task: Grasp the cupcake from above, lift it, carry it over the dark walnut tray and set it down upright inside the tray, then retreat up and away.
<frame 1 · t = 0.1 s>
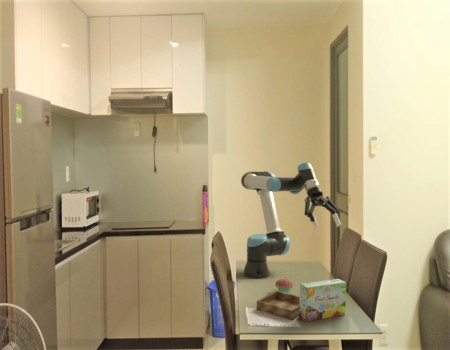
hand: (328, 226, 185), 36 cm above the table, tool tilted 35°, fingers open, 13 cm apart
cupcake: (283, 293, 193), on the table
walnut tray: (283, 308, 173), on the table
snack box: (322, 316, 165), on the table
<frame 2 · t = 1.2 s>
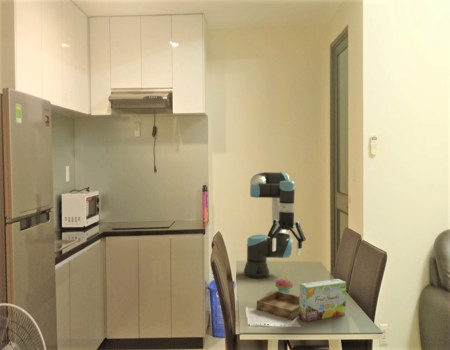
hand: (285, 252, 192), 21 cm above the table, tool pointing down, fingers open, 13 cm apart
nothing on the table moved.
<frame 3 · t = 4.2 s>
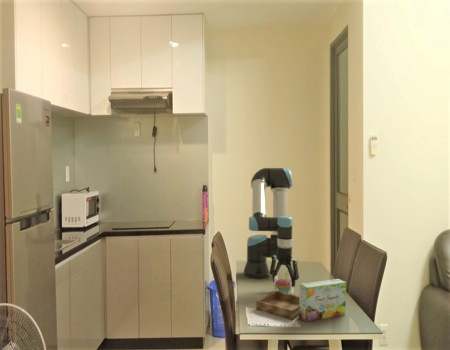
hand: (283, 290, 193), 1 cm above the table, tool pointing down, fingers closed on cupcake, 8 cm apart
cupcake: (283, 293, 193), on the table, touching gripper
everything else where it was.
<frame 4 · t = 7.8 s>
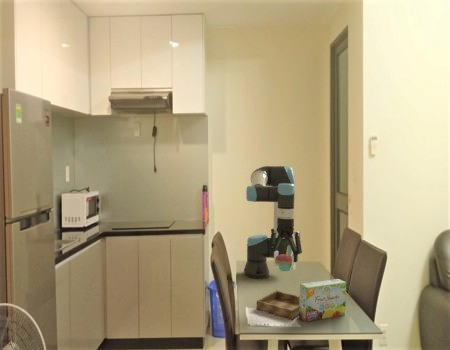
hand: (284, 266, 172), 19 cm above the table, tool pointing down, fingers closed on cupcake, 8 cm apart
cupcake: (284, 270, 172), point 18 cm above the table, touching gripper
everything else where it was.
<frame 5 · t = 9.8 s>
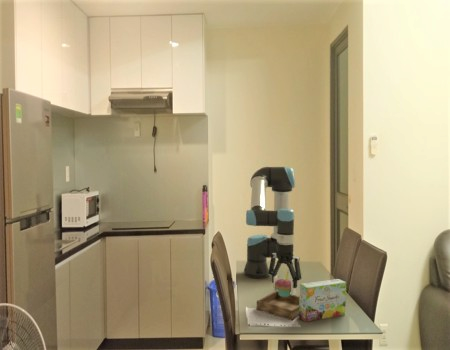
hand: (284, 292, 172), 8 cm above the table, tool pointing down, fingers closed on cupcake, 8 cm apart
cupcake: (283, 295, 172), point 6 cm above the table, touching gripper
everything else where it was.
when the fingers open (4 cm above the table, at t = 11.4 s): cupcake drops 2 cm, resting on walnut tray.
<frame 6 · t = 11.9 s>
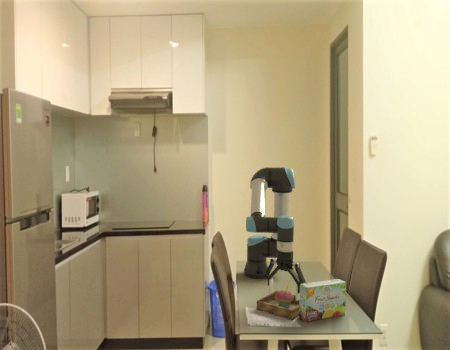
hand: (284, 296, 172), 6 cm above the table, tool pointing down, fingers open, 13 cm apart
cupcake: (283, 306, 173), point 1 cm above the table, touching walnut tray
everything else where it was.
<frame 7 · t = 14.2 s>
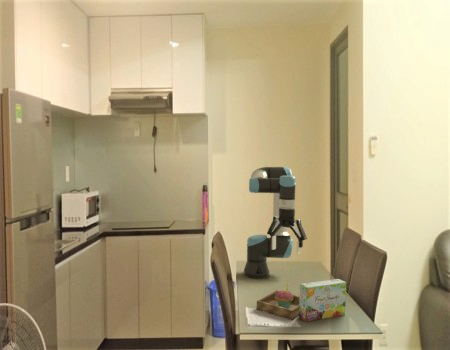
hand: (286, 251, 182), 24 cm above the table, tool pointing down, fingers open, 13 cm apart
nothing on the table moved.
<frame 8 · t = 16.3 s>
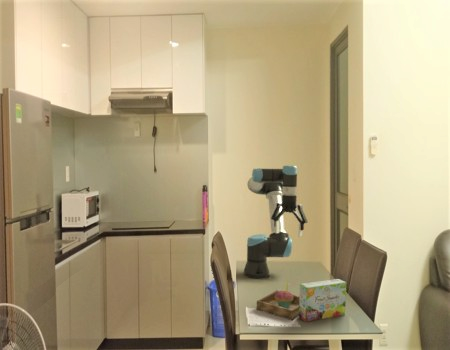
hand: (288, 234, 200), 29 cm above the table, tool pointing down, fingers open, 13 cm apart
nothing on the table moved.
at the end: cupcake inside the target area on the walnut tray (0.1 cm from its centre), point 0.6 cm above the walnut tray's base; cupcake tilted 0°; the gripper is holding nothing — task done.
